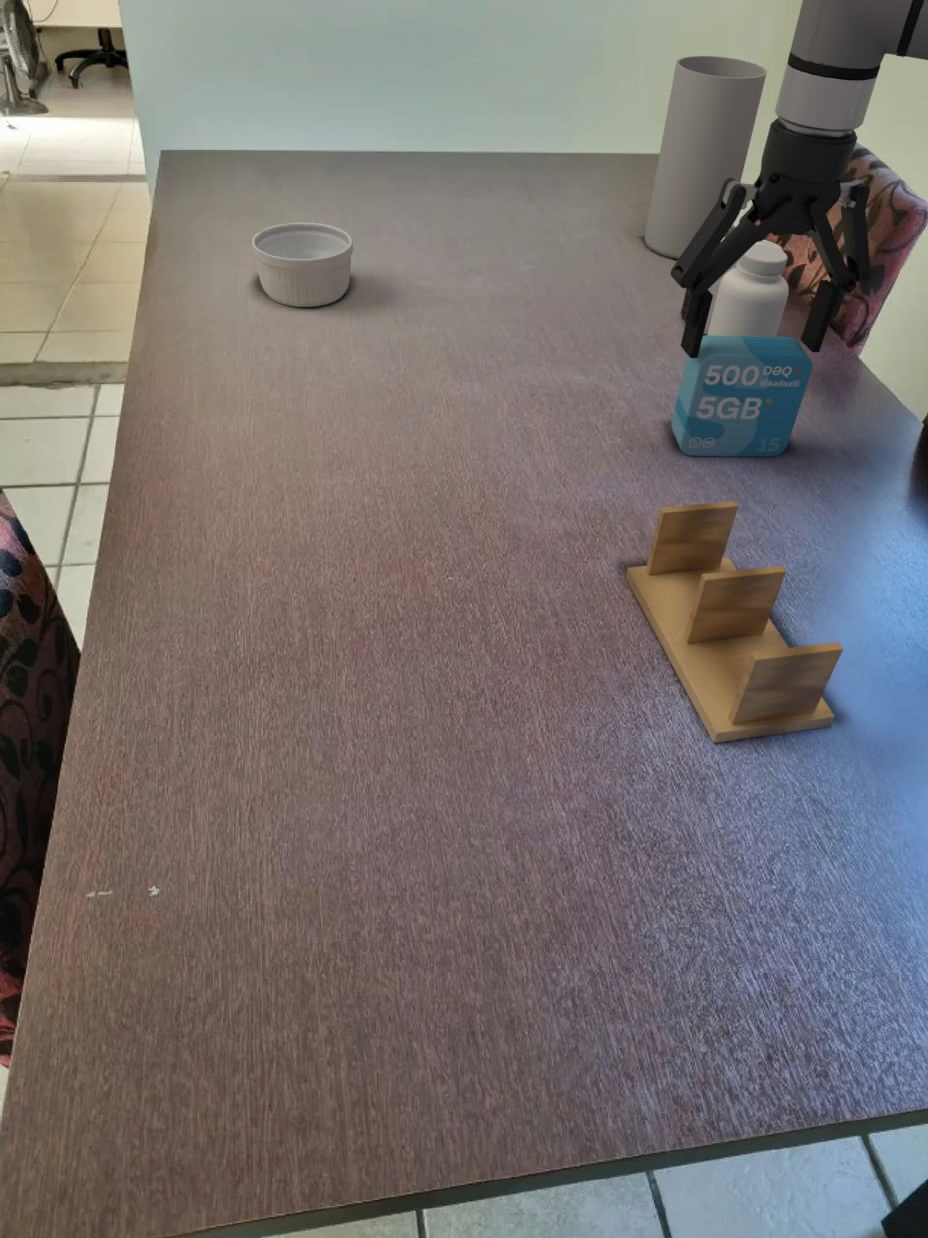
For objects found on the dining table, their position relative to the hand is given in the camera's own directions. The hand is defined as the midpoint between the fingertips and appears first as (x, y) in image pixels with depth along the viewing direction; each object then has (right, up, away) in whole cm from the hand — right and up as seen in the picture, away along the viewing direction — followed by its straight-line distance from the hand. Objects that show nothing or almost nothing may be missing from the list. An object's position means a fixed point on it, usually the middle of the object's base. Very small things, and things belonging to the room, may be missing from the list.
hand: (749, 349), depth 97 cm
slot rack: (-8, -30, -16) cm, 35 cm away
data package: (0, -9, +8) cm, 12 cm away
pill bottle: (+4, +3, +21) cm, 21 cm away
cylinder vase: (+5, +31, +51) cm, 60 cm away
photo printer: (+6, +11, +29) cm, 32 cm away
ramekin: (-51, +17, +32) cm, 62 cm away
